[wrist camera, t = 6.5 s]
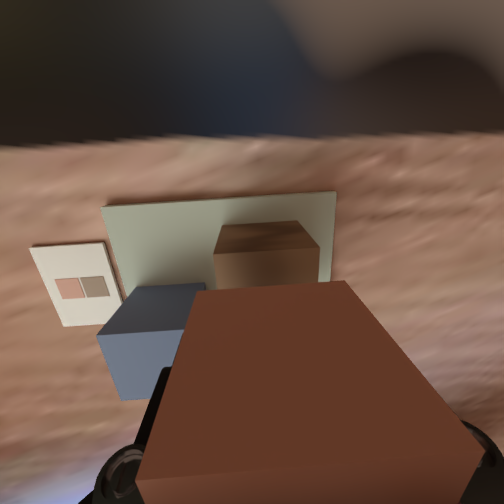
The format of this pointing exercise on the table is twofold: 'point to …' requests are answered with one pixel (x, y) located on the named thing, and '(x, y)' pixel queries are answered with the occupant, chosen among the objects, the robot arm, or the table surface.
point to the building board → (205, 233)
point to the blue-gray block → (146, 336)
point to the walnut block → (265, 255)
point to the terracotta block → (300, 408)
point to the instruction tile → (79, 282)
